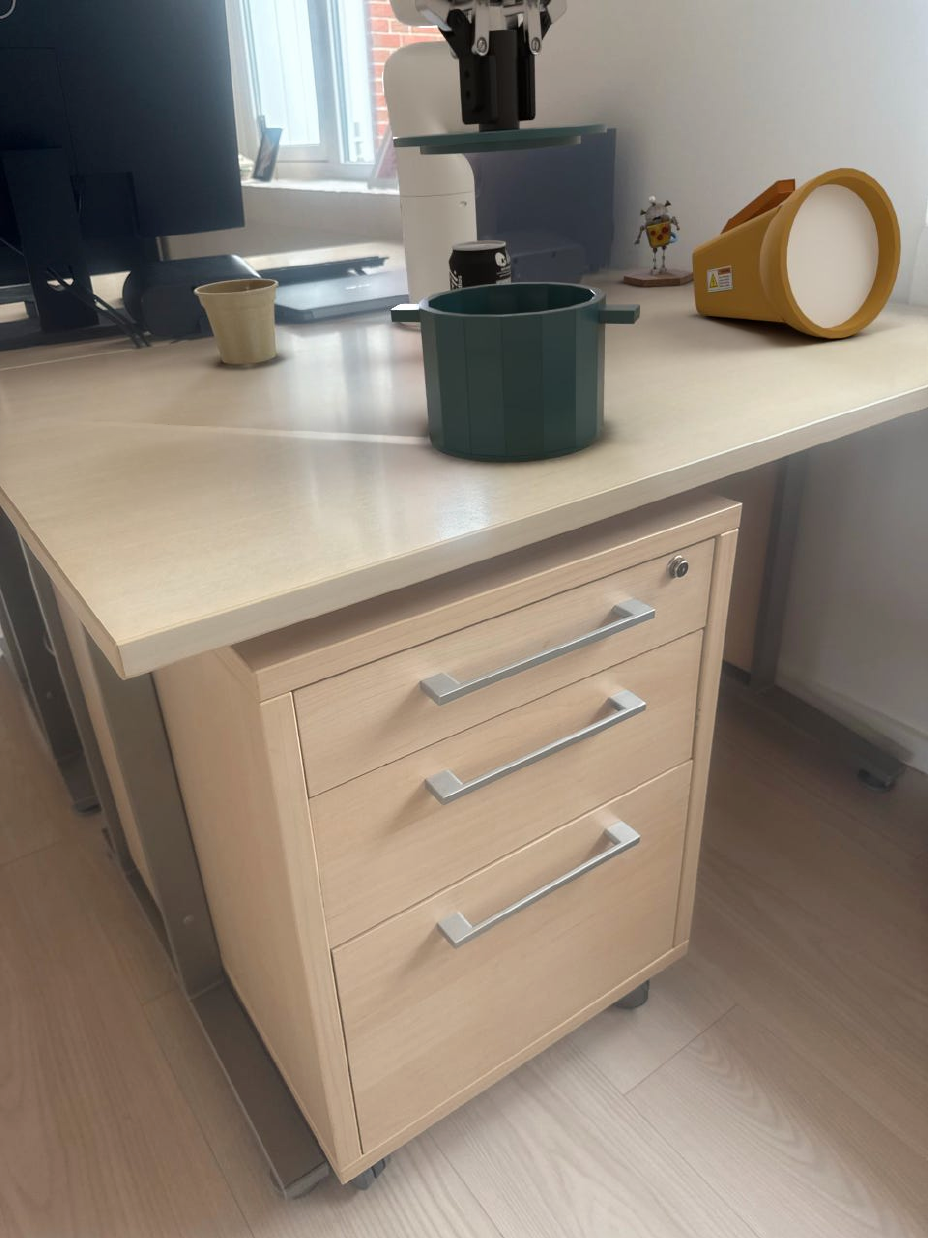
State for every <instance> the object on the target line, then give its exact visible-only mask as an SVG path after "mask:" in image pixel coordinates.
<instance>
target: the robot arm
mask: <svg viewBox="0 0 928 1238" xmlns="http://www.w3.org/2000/svg"><path fill="white" fill-rule="evenodd" d="M388 2H389V5H390V8H391V12H392V13H393V16H394V17H395V19H396V20H397V21H398V22H399V23H401V24H403V25H404V26H408V27H412V28H413V27H414V28H437V30H438V31H439V32H440V34H441V35H442V37H443V38H444V39H445V40H434V41H433V40H431V41H420V42H419V41H418V42H414V43H409V44H406V45H403V46H400V47H398V48H397V49H395V50H394V51H392V52H391V53H390V54H389V55H388V57H387V58H386V60H385V62H384V64H383V68H382V75H381V78H382V79H381V80H382V81H381V82H382V91H383V98H384V103H385V107H386V111H387V116H388V120H389V125H390V130H391V135H392V139H393V138H396V137H407V136H419V135H432V134H445V133H459V132H473V131H479V124H486V123H495V122H496V120H497V118H498V106H497V78H496V61H495V56H487V52H488V48H489V31H493V30H517V38H518V77H519V116H520V123H521V122H526V121H534V120H535V118H536V117H537V115H536V114H537V109H536V107H537V105H536V61H535V60H536V57H535V56H539V55H540V53H542V49H543V40H544V39H545V36H546V35H547V33H548V31H549V30H550V28H551V27H552V26H551V25H554V24H555V23H556V22H557V21H558V20H559V19H560V18H561V17H562V16H563V15H564V14H566V12H567V9H568V2H567V0H389V1H388ZM394 154H395V160H396V161H395V163H396V170H397V179H398V193H399V203H400V214H401V223H402V224H401V225H402V237H403V248H404V259H405V271H406V272H405V273H406V283H407V293H408V304H419V301H421V300H423V299H425V298H427V297H429V296H431V295H433V294H437V293H441V292H445V291H449V290H450V276H449V259H450V257H451V254H452V252H453V249H452V245H454V244H457V243H462V242H470V241H478V231H477V211H476V192H475V191H476V190H475V189H476V188H475V177H474V172H473V169H472V167H471V164H470V162H469V161H468V159H467V158H466V157H465V155H464V153H462V154H441V155H421V154H420V147H394ZM399 323H400V324H403V325H404V326H405V325H406V326H411V327H418V328H421V324H420V322H399Z"/></svg>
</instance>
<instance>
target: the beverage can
mask: <svg viewBox="0 0 928 1238" xmlns="http://www.w3.org/2000/svg"><path fill="white" fill-rule="evenodd" d="M506 245H507V243H506V241H504V240H498V239H497V240H494V239H493V240H491V239H487V240H484V239H483V240H477V241H470V242H462V243H457V244H454V245H452V249H453V252H452V254H451V257H450V259H449V276H450V290H453V289H459V288H466V287H473V286H480V285H488V284H502V283H512V272H511V269H512V268H511V256H510V254H509V253H508V251H507V248H506Z"/></svg>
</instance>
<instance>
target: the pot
mask: <svg viewBox="0 0 928 1238" xmlns="http://www.w3.org/2000/svg"><path fill="white" fill-rule="evenodd" d="M640 313H641V304H638V303H636V304H633V303H632V304H628V303H627V304H621V303H620V304H619V303H618V304H617V303H616V304H615V303H614V304H613V303H612V304H611V303H610V304H609V303H607V294H606V293H605V292H604V291H603V290H601V289H600V288H599V287H595V286H591V285H585V284H581V283H571V282H570V283H569V282H556V281H524V282H523V281H518V282H515V281H514V282H511V283H502V284H488V285H480V286H473V287H466V288H459V289H453V290H449V291H445V292H441V293H437V294H433V295H431V296H429V297H427V298H425V299H423V300H421V301H419V304H409V303H401V304H399V305H397V306H395V307H393V308H391V309H390V320H391V323H400V322H420V324H421V327H420V334H421V335H420V336H421V347H422V360H423V373H424V385H425V395H426V410H427V421H428V422H427V423H428V433H429V434H428V435H429V440H430V443H431V445H432V446H433V447H434V448H435V449H436V450H438V451H439V452H441V453H443V454H447V455H448V456H452V457H455V458H459V459H465V460H469V461H476V462H489V463H520V462H521V463H522V462H533V461H540V460H547V459H553V458H558V457H563V456H565V455H570V454H573V453H575V452H578V451H579V452H580V451H581V450H584V449H586V448H588V447H590V446H591V445H593V444H594V443H596V442H598V440H599V439H600V437H601V435H602V433H603V431H602V429H603V426H604V424H605V423H604V422H605V418H604V417H605V415H604V414H605V377H606V376H605V373H606V371H605V370H606V369H605V368H606V367H605V366H606V325H635V323H636V322H637V321H638V320H639V318H640Z"/></svg>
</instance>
